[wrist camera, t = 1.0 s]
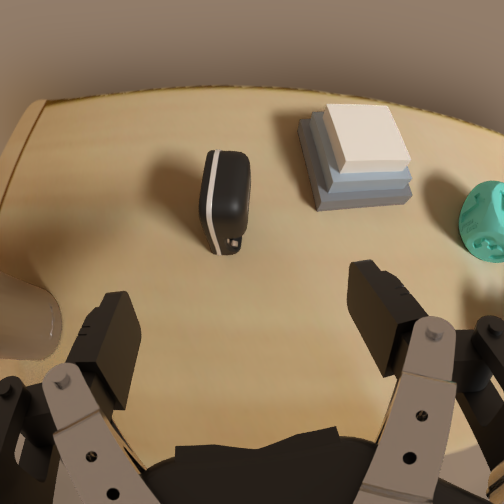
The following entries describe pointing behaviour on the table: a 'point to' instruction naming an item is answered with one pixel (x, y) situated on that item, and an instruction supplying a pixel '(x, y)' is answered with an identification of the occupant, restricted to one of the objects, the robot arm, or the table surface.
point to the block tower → (355, 157)
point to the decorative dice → (484, 221)
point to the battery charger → (225, 200)
